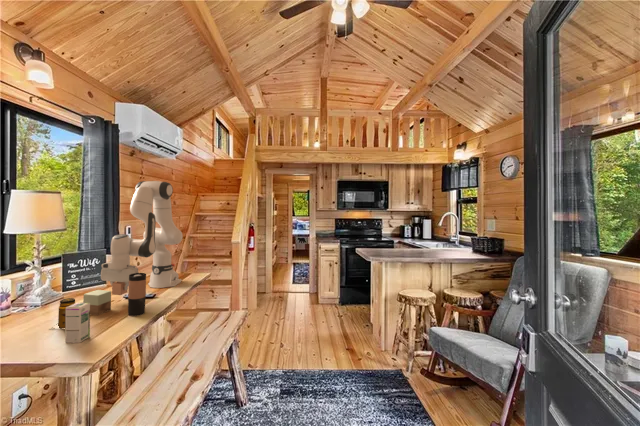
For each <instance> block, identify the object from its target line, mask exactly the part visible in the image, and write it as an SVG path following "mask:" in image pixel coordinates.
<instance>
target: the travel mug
mask: <svg viewBox="0 0 640 426" xmlns="http://www.w3.org/2000/svg"><path fill="white" fill-rule="evenodd" d="M127 293H128V294H127V315H128V316H129V317H137V316H139V317H140V316H142V315H144V314H145V313H146V312H145V311H146V296H147V295H146V294H147V273H145V272H138V273H134V274H130V275H129V286H128V292H127Z"/></svg>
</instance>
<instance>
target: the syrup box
mask: <svg viewBox="0 0 640 426" xmlns="http://www.w3.org/2000/svg"><path fill="white" fill-rule="evenodd" d="M90 323H91V315H90V303H84V302H75V304H73V305H71V306H69V307H66V323H65V327H66V328H65V329H64V330H65V332H64V333H65V337H64V338H65V343H66V344H80V343H82V342H83V341H85V340H86V339H88V338H91V337H90V336H91V334H90V333H91V330H90V327H91V324H90Z"/></svg>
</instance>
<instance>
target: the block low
mask: <svg viewBox="0 0 640 426" xmlns="http://www.w3.org/2000/svg"><path fill="white" fill-rule="evenodd" d="M111 308H112V300H111V301H109V302H106V303H103V304H101V305H98V306H97V305H90V316H91V315H92V316H99V315H102V314H104V313H107V312H110V311H111Z"/></svg>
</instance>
